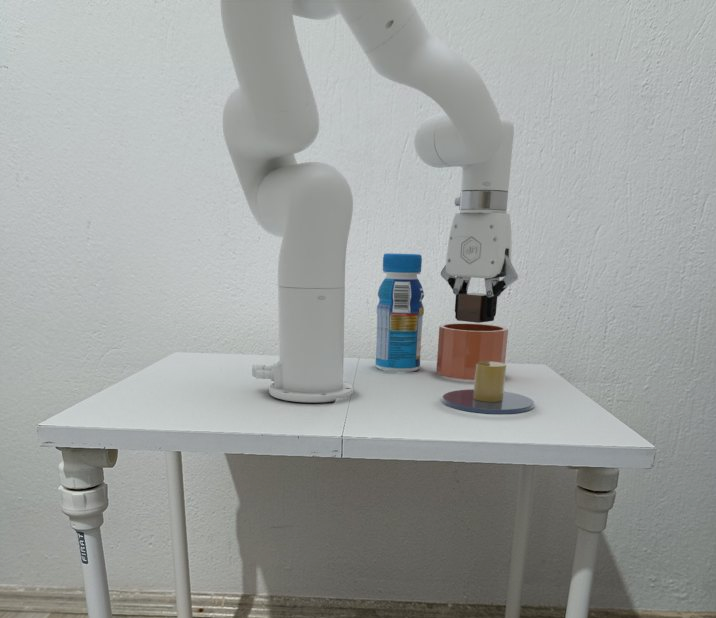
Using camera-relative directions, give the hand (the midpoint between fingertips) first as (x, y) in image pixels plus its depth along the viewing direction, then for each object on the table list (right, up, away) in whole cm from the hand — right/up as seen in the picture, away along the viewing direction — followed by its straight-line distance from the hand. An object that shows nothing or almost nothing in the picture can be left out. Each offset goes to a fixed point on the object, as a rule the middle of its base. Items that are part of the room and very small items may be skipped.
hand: (474, 318), depth 113 cm
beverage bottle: (-13, -7, +9) cm, 17 cm away
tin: (0, -9, +3) cm, 10 cm away
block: (0, 0, 0) cm, 0 cm away
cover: (-1, -16, -19) cm, 25 cm away
